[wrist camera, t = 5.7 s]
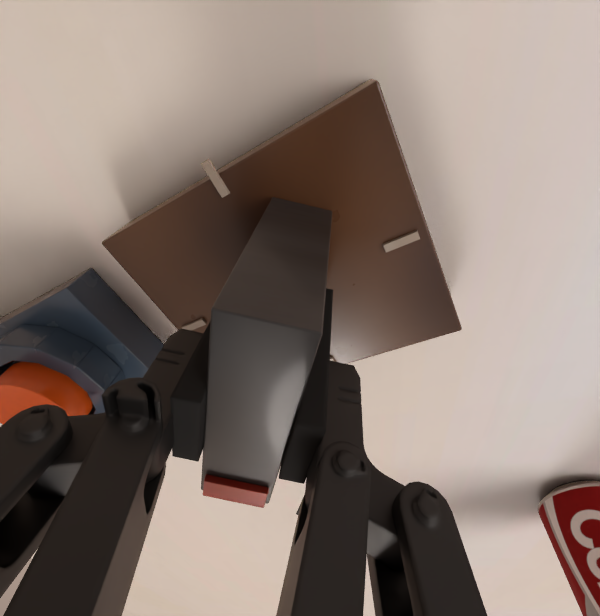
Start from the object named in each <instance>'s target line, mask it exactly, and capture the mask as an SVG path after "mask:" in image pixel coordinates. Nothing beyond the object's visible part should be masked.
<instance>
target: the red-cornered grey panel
mask: <svg viewBox="0 0 600 616" xmlns="http://www.w3.org/2000/svg"><path fill="white" fill-rule="evenodd" d="M331 224H332V211H330V210H326V209H322V208H317V207H313V206H309V205H305V204H301V203H296V202H292V201H288V200H284V199H279V198H275V197H272V199H271V201H270V203H269V205H268V206H267V208H266V210H265V212H264V214H263V216H262V217H261V219H260V221H259V223H258V225H257V226H256V228H255V230H254V232H253V234H252V236H251V237H250V239H249V241H248V243H247V245H246V246H245V248H244V250H243V252H242V254H241V255H240V257H239V259H238V261H237V263H236V265H235V266H234V268H233V270H232V272H231V274H230V275H229V277H228V279H227V281H226V283H225V285H224V286H223V288H222V290H221V292H220V294H219V295H218V297H217V299H216V301H215V303H214V305H213V306H212V308H211V321H210V339H209V356H208V374H207V393H206V411H205V429H204V447H203V463H202V481H201V489H202V490H203V495H204V496H209V497H214V498H218V499H223V500H228V501H233V502H238V503H242V504H247V505H252V506H257V507H262V508H264V505H265V503H269V500H270V497H271V494H272V491H273V488H274V485H275V482H276V478H277V475H278V472H279V469H280V466H281V462H282V459H283V456H284V453H285V450H286V447H287V443H288V440H289V437H290V434H291V431H292V428H293V424H294V421H295V418H296V415H297V412H298V409H299V406H300V403H301V400H302V397H303V393H304V390H305V387H306V384H307V381H308V378H309V375H310V371H311V368H312V365H313V362H314V359H315V356H316V353H317V349H318V346H319V343H320V340H321V337H322V333H323V321H324V309H325V297H326V285H327V272H328V260H329V248H330V236H331Z"/></svg>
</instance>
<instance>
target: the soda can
mask: <svg viewBox="0 0 600 616" xmlns="http://www.w3.org/2000/svg"><path fill="white" fill-rule="evenodd" d="M538 513H539V515H540V517H541V520H542V522H543V524H544V527H545V529H546V531H547V534H548V536H549V538H550V540H551V543H552V545H553V547H554V550H555V552H556V554H557V557H558V559H559V561H560V563H561V566H562V568H563V570H564V573H565V575H566V577H567V580H568V582H569V584H570V587H571V589H572V591H573V593H574V596H575V598H576V600H577V603H578V605H579V607H580V610H581V612H582V614H583V616H600V481H592V480H590V481H577V482H572V483H568V484H565V485H562V486H559V487H557V488H555V489H554V490H552V491H551V492H550V493H549V494H548V495H547V496H545V497H544V498H543V499H542V500H541V501H540V503H539V505H538Z"/></svg>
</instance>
